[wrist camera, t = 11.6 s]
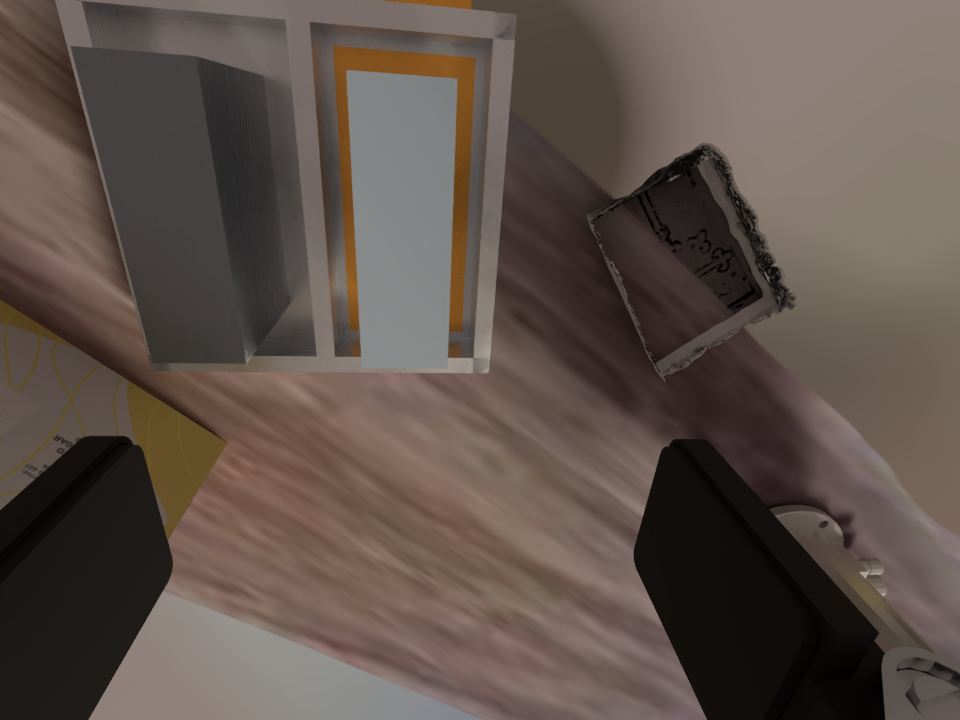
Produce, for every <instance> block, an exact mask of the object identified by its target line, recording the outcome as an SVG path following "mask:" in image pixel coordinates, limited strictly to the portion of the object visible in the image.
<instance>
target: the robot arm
mask: <svg viewBox="0 0 960 720" xmlns="http://www.w3.org/2000/svg"><path fill="white" fill-rule="evenodd" d="M843 544H844V538H843V533H842V530H841V529H840V527H839V525H838V524H837V523H836V522H835V521H834V520H833V519H832V518H831V517H830V516H829V515H828V514H826V513H825V512H824V511H822V510H820V509H818V508H815V507H812V506H806V505H784V506H779V507H773V508H770V509H768V507H767V506H766V505H765V504H764V503H763V502H762V501H761V500H760V498H759V497H758V496H757V495H756V494H755V493H754V492H753V491H752V490H751V488H750V487H749V486H748V485H747V484H746V483H745V482H744V481H743V479H742V478H741V477H740V476H739V475H738V474H737V473H736V472H735V470H734V469H733V468H732V467H731V466H730V465H729V464H728V463H727V462H726V460H725V459H724V458H723V457H722V456H721V455H720V454H719V453H718V451H717V450H716V449H715V448H714V447H713V446H712V445H711V444H710V443H709V442H708V441H707V440H704V439H675V440H673V441H672V442H671V443H670V445H669V447H664V448H663V449H662V451H661V454H660V457H659V461H658V464H657V468H656V472H655V475H654V479H653V483H652V486H651V490H650V493H649V497H648V501H647V504H646V508H645V511H644V515H643V519H642V522H641V526H640V529H639V533H638V537H637V540H636V544H635V548H634V562H635V566H636V569H637V571H638V573H639V576H640V578H641V580H642V582H643V584H644V586H645V588H646V590H647V593H648V595H649V597H650V599H651V601H652V603H653V605H654V607H655V610H656V612H657V614H658V616H659V618H660V620H661V622H662V625H663V627H664V629H665V631H666V633H667V635H668V637H669V639H670V642H671V644H672V646H673V648H674V650H675V652H676V654H677V656H678V659H679V661H680V663H681V665H682V667H683V669H684V671H685V674H686V676H687V678H688V680H689V682H690V684H691V686H692V688H693V691H694V693H695V695H696V697H697V699H698V701H699V703H700V705H701V708H702V710H703V712H704V714H705V716H706V718H707V720H960V665H958V664H956V663H954V662H953V661H951V660H949V659H947V658H945V657H943V656H940V655H939V654H938V653H937V652H936V651H935V650H934V649H933V648H932V647H931V646H930V645H929V644H928V643H927V642H926V640H925V639H924V638H923V637H922V636H921V635H920V634H919V633H918V632H917V631H916V630H915V629H914V628H913V627H912V626H911V625H910V624H909V623H908V622H907V621H906V620H905V619H904V618H903V617H902V616H901V615H900V614H899V613H898V612H897V611H896V610H895V609H894V607H893V606H892V605H891V604H890V603H889V602H888V601H887V600H886V599H885V598H884V597H883V596H885V595H886V593H887V587H886V584H885V582H884V580H883V579H882V578H881V577H880V576H878V575H880V574H882V573H883V572H884V566H883V564H882V563H881V561H880V560H878V559H877V558H864V559H859V560H857V559H856V558H854V557H853V556H852V555H851V554H850V553H849V552H848V551H847V550H846V549H845V548H844V546H843ZM172 567H173V560H172V555H171V551H170V548H169V544H168V540H167V537H166V533H165V529H164V526H163V522H162V518H161V515H160V511H159V507H158V503H157V500H156V496H155V492H154V489H153V485H152V481H151V478H150V474H149V470H148V467H147V463H146V459H145V456H144V452H143V450H142V448H141V447H140V446H139V445H133V442H132V441H131V440H130V439H129V438H128V437H126V436H86V437H83V438H82V439H80V440H79V441H78V442H76V443H75V444H74V445H73V446H72V447H71V448H70V449H69V450H67V451H66V452H65V453H64V454H63V455H62V456H61V457H60V458H58V459H57V460H56V461H55V462H54V463H53V464H52V465H50V466H49V467H48V468H47V469H46V470H45V471H44V472H43V473H41V474H40V475H39V476H38V477H37V478H36V479H35V480H34V481H32V482H31V483H30V484H29V485H28V486H27V487H26V488H25V489H23V490H22V491H21V492H20V493H19V494H18V495H17V496H15V497H14V498H13V499H12V500H11V501H10V502H9V503H8V504H6V505H5V506H4V507H3V508H2V509H1V510H0V720H88V719H89V718H90V716H91V714H92V712H93V711H94V709H95V707H96V706H97V704H98V702H99V700H100V699H101V697H102V695H103V693H104V692H105V690H106V688H107V687H108V685H109V683H110V681H111V680H112V678H113V676H114V674H115V673H116V671H117V669H118V667H119V665H120V664H121V662H122V661H123V659H124V657H125V655H126V654H127V652H128V650H129V649H130V647H131V645H132V643H133V642H134V640H135V638H136V636H137V635H138V633H139V631H140V629H141V628H142V626H143V624H144V623H145V621H146V619H147V617H148V616H149V614H150V612H151V610H152V608H153V607H154V605H155V604H156V602H157V600H158V598H159V597H160V595H161V593H162V591H163V590H164V588H165V586H166V585H167V583H168V581H169V579H170V576H171V573H172Z"/></svg>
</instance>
